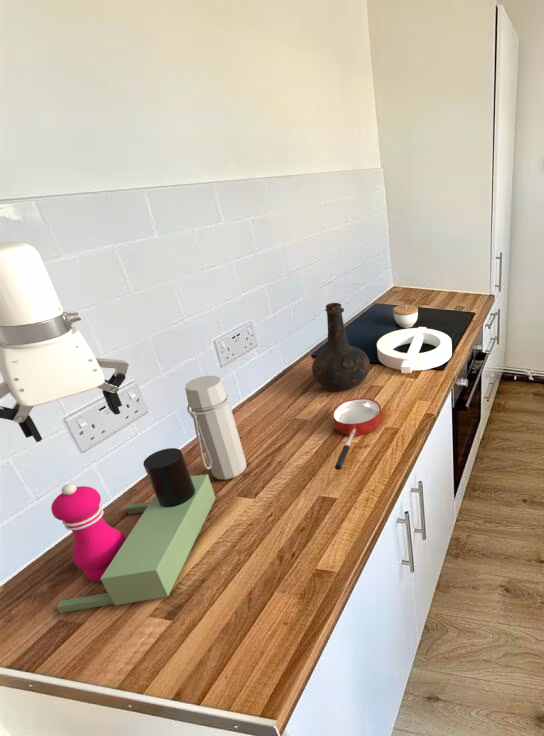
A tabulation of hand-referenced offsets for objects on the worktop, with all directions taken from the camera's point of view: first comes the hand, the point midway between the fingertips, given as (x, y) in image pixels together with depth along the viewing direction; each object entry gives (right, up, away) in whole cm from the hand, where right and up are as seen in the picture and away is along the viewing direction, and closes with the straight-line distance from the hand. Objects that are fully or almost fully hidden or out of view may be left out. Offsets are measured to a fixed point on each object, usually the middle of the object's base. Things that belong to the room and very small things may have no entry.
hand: (78, 424), depth 71 cm
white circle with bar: (+34, +11, +96) cm, 103 cm away
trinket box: (+24, +24, +121) cm, 126 cm away
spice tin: (+3, -18, +17) cm, 25 cm away
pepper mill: (-4, -29, +10) cm, 31 cm away
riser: (0, -27, +14) cm, 30 cm away
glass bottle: (+15, +1, +73) cm, 75 cm away
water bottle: (+3, -18, +33) cm, 38 cm away
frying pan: (+29, -13, +46) cm, 56 cm away
